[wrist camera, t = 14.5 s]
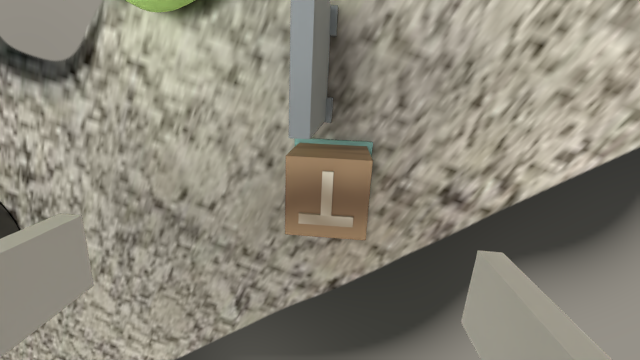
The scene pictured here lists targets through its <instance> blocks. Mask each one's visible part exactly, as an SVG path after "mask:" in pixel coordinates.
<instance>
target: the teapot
mask: <svg viewBox="0 0 640 360" xmlns="http://www.w3.org/2000/svg"><path fill="white" fill-rule="evenodd" d="M126 1H127V2H129V3H131V4H133V5H135V6H137V7H139V8H141V9H144V10H147V11H151V12H167V11H172V10H176V9H179V8H181V7H183V6H185V5H188V4H189V3H191V2H193V1H194V0H126Z"/></svg>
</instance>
